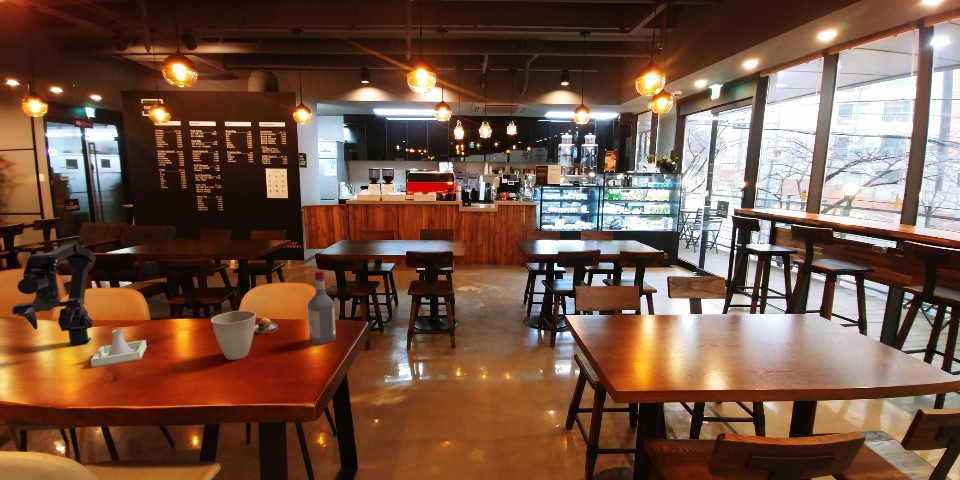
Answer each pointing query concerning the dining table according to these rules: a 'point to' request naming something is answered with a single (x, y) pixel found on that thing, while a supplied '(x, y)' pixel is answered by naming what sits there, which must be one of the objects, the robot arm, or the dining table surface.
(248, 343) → the plant pot
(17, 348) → the dining table surface
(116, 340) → the flask
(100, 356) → the tray
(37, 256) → the robot arm
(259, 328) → the burger
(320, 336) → the liquor
